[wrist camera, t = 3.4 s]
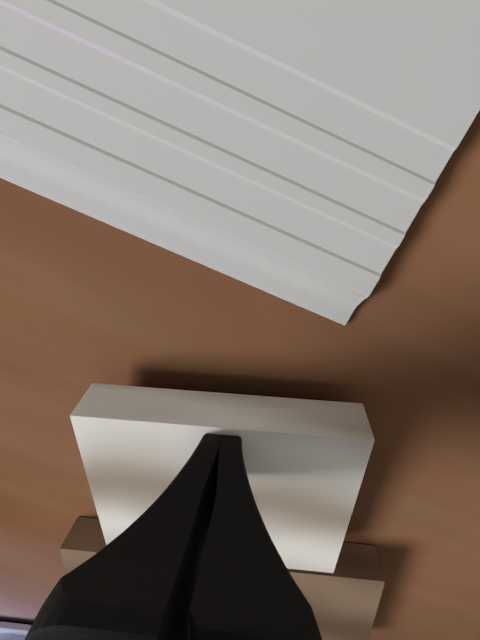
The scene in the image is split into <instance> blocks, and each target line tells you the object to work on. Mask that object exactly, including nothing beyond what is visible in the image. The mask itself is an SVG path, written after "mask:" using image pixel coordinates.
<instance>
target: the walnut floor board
mask: <svg viewBox="0 0 480 640" xmlns="http://www.w3.org/2000/svg"><path fill="white" fill-rule="evenodd" d="M105 546H106V542H105V539H104V535H103V532H102V528H101V525H100V521H99V519H95V518H85V517H78V518H77V520H76V521H75V523H74V525H73V527H72V528H71V530H70V532H69V534H68V536H67V537H66V539H65V541H64V543H63V544H62V546H61V548H60V551H61V555H62V560H63V565H64V570H65V574H68V573H69V572H71V571H72V570H73V569H75V568H76V567H78V566H79V565H81V564H82V563H84V562H85V561H86V560H88V559H89V558H91V557H92V556H93V555H95V554H96V553H97V552H99V551H100V550H101V549H102V548H104V547H105ZM288 571H289V572H290V574H291V576H292V577H293V579H294V581H295V582H296V584H297V585H298V587H299V589H300V590H301V592H302V593H303V595H304V596H305V598H306V599H307V601H308V602H309V604H310V605H311V607H312V610H313V613H314V616H315V619H316V621H317V624H318V628H319V631H320V634H321V637H322V640H369V636H370V633H371V629H372V626H373V622H374V619H375V616H376V612H377V609H378V605H379V602H380V598H381V595H382V591H383V588H384V585H385V579H384V576H383V572H382V569H381V565H380V562H379V559H378V555H377V552H376V549H375V545H365V544H354V543H344V542H343V544H342V547H341V550H340V554H339V557H338V560H337V563H336V566H335V570H334V573H327V572H317V571H307V570H297V569H288Z"/></svg>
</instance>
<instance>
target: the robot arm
mask: <svg viewBox="0 0 480 640" xmlns="http://www.w3.org/2000/svg"><path fill="white" fill-rule="evenodd" d="M0 640H322V637H321V634H320V631H319V628H318V624H317V621H316V619H315V616H314V613H313V610H312V607H311V605H310V604H309V602H308V601H307V599H306V598H305V596H304V595H303V593H302V592H301V590H300V589H299V587H298V585H297V584H296V582H295V581H294V579H293V577H292V576H291V574H290V572H289V571H288V569H287V567H286V566H285V564H284V562H283V560H282V558H281V556H280V555H279V553H278V551H277V549H276V547H275V545H274V543H273V541H272V539H271V537H270V535H269V533H268V531H267V529H266V527H265V524H264V522H263V520H262V517H261V515H260V512H259V510H258V507H257V505H256V502H255V499H254V496H253V493H252V490H251V487H250V484H249V480H248V476H247V472H246V469H245V464H244V459H243V452H242V438H241V437H240V436H233V435H223V436H222V435H220V434H208V433H206V434H204V435H203V437H202V439H201V441H200V442H199V444H198V446H197V447H196V449H195V450H194V452H193V453H192V455H191V457H190V458H189V459H188V461H187V462H186V464H185V465H184V466H183V468H182V469H181V471H180V472H179V473H178V474H177V476H176V477H175V478H174V479H173V481H172V482H171V483H170V484H169V486H168V487H167V488H166V489H165V490H164V492H163V493H162V494H161V495H160V496H159V497H158V498H157V499H156V500H155V502H154V503H153V504H152V505H151V506H150V507H149V508H148V509H147V510H146V511H145V512H144V513H143V514H142V515H141V516H140V517H139V518H138V519H136V520H135V521H134V522H133V523H132V524H131V525H130V526H129V527H128V528H127V529H126V530H125V531H123V532H122V533H121V534H120V535H119V536H117V537H116V538H115V539H114V540H112V541H111V542H110V543H109V544H107V545H106V546H105V547H104V548H102V549H101V550H100V551H99V552H97V553H96V554H95V555H93V556H92V557H91V558H89V559H88V560H86V561H85V562H84V563H82V564H81V565H79V566H78V567H76V568H75V569H73V570H72V571H71V572H69V573H68V574H66V575H65V576H63V577H62V578H60V580H59V581H58V583H57V584H56V586H55V587H54V589H53V590H52V592H51V593H50V595H49V596H48V598H47V599H46V601H45V602H44V604H43V605H42V607H41V609H40V611H39V613H38V614H37V616H36V618H35V620H34V622H33V624H32V625H28V624H19V623H10V622H2V621H0Z"/></svg>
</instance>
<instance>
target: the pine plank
mask: <svg viewBox="0 0 480 640" xmlns="http://www.w3.org/2000/svg"><path fill="white" fill-rule="evenodd" d="M70 418H71V422H72V425H73V429H74V432H75V436H76V439H77V443H78V446H79V450H80V454H81V457H82V461H83V464H84V468H85V471H86V475H87V478H88V482H89V485H90V489H91V493H92V496H93V500H94V503H95V507H96V510H97V514H98V517H99V521H100V525H101V528H102V532H103V535H104V539H105V542H106V545H107V544H109V543H110V542H111V541H112V540H114V539H115V538H116V537H117V536H119V535H120V534H121V533H122V532H123V531H125V530H126V529H127V528H128V527H129V526H130V525H131V524H132V523H133V522H134V521H135V520H136V519H138V518H139V517H140V516H141V515H142V514H143V513H144V512H145V511H146V510H147V509H148V508H149V507H150V506H151V505H152V504H153V503H154V502H155V500H156V499H157V498H158V497H159V496H160V495H161V494H162V493H163V492H164V490H165V489H166V488H167V487H168V486H169V484H170V483H171V482H172V481H173V479H174V478H175V477H176V476H177V474H178V473H179V472H180V471H181V469H182V468H183V466H184V465H185V464H186V462H187V461H188V459H189V458H190V457H191V455H192V453H193V452H194V450H195V449H196V447H197V446H198V444H199V442H200V441H201V439H202V437H203V435H204V434H206V433H208V434H220V435H222V436H223V435H233V436H240V437H241V438H242V452H243V459H244V464H245V469H246V472H247V476H248V480H249V484H250V487H251V490H252V493H253V496H254V499H255V502H256V505H257V507H258V510H259V512H260V515H261V517H262V520H263V522H264V524H265V527H266V529H267V531H268V533H269V535H270V537H271V539H272V541H273V543H274V545H275V547H276V549H277V551H278V553H279V555H280V556H281V558H282V560H283V562H284V564H285V566H286V567H287V569H297V570H307V571H317V572H327V573H334V570H335V566H336V563H337V560H338V557H339V554H340V550H341V547H342V544H343V541H344V538H345V534H346V531H347V528H348V525H349V522H350V518H351V515H352V512H353V509H354V505H355V502H356V499H357V496H358V493H359V489H360V486H361V483H362V480H363V477H364V473H365V470H366V467H367V464H368V460H369V457H370V454H371V451H372V448H373V444H374V441H375V439H374V436H373V433H372V430H371V427H370V424H369V421H368V418H367V415H366V412H365V409H364V406H363V404H362V403H349V402H335V401H322V400H309V399H296V398H282V397H269V396H256V395H243V394H229V393H216V392H203V391H190V390H177V389H163V388H150V387H137V386H124V385H110V384H97V383H92V384H91V386H90V387H89V389H88V390H87V391H86V393H85V394H84V396H83V397H82V399H81V400H80V402H79V403H78V404H77V406H76V407H75V409H74V410H73V412H72V413H71V415H70Z"/></svg>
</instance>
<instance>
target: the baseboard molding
mask: <svg viewBox="0 0 480 640" xmlns="http://www.w3.org/2000/svg"><path fill="white" fill-rule="evenodd" d="M479 110H480V0H0V178H2V179H4V180H7V181H9V182H11V183H14V184H16V185H18V186H21V187H23V188H25V189H28V190H30V191H32V192H35V193H37V194H39V195H42V196H44V197H46V198H49V199H51V200H53V201H56V202H58V203H60V204H63V205H65V206H67V207H70V208H72V209H74V210H77V211H79V212H81V213H84V214H86V215H88V216H91V217H93V218H95V219H98V220H100V221H102V222H105V223H107V224H109V225H112V226H114V227H116V228H119V229H121V230H123V231H126V232H128V233H130V234H132V235H135V236H137V237H139V238H142V239H144V240H146V241H149V242H151V243H153V244H156V245H158V246H160V247H163V248H165V249H167V250H170V251H172V252H174V253H177V254H179V255H181V256H184V257H186V258H188V259H191V260H193V261H195V262H198V263H200V264H202V265H205V266H207V267H209V268H212V269H214V270H216V271H219V272H221V273H223V274H226V275H228V276H230V277H233V278H235V279H237V280H240V281H242V282H244V283H247V284H249V285H251V286H254V287H256V288H258V289H261V290H263V291H265V292H268V293H270V294H272V295H275V296H277V297H279V298H282V299H284V300H286V301H289V302H291V303H293V304H295V305H298V306H300V307H302V308H305V309H307V310H309V311H312V312H314V313H316V314H319V315H321V316H323V317H326V318H328V319H330V320H333V321H335V322H337V323H340V324H342V325H344V326H345V325H346V323H347V321H348V320H349V318H350V316H351V315H352V313H353V311H354V310H355V308H356V307H357V306H358V305H359V304H360V303H361V302H362V301H363V300H364V299H366V298H368V297H369V296H370V294H371V292H372V291H373V289H374V287H375V286H376V284H377V282H378V280H379V279H380V277H381V273H382V272H383V270H384V268H385V267H386V265H387V263H388V262H389V260H390V258H391V257H392V255H393V253H394V252H395V250H396V249H397V248H398V247H399V245H400V243H401V242H402V240H403V238H404V237H405V234H406V231H407V230H408V228H409V226H410V224H411V223H412V221H413V219H414V218H415V216H416V214H417V213H418V211H419V209H420V208H421V206H422V204H423V203H424V202H425V201H426V200H427V198H428V196H429V194H430V193H431V191H432V189H433V188H434V186H435V182H436V181H437V179H438V177H439V175H440V174H441V172H442V170H443V169H444V167H445V165H446V164H447V162H448V160H449V159H450V157H451V155H452V153H453V152H454V151H455V150H456V149H457V147H458V146H459V144H460V142H461V140H462V139H463V137H464V135H465V134H466V132H467V130H468V129H469V127H470V125H471V124H472V122H473V120H474V119H475V117H476V115H477V113H478V112H479Z"/></svg>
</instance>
